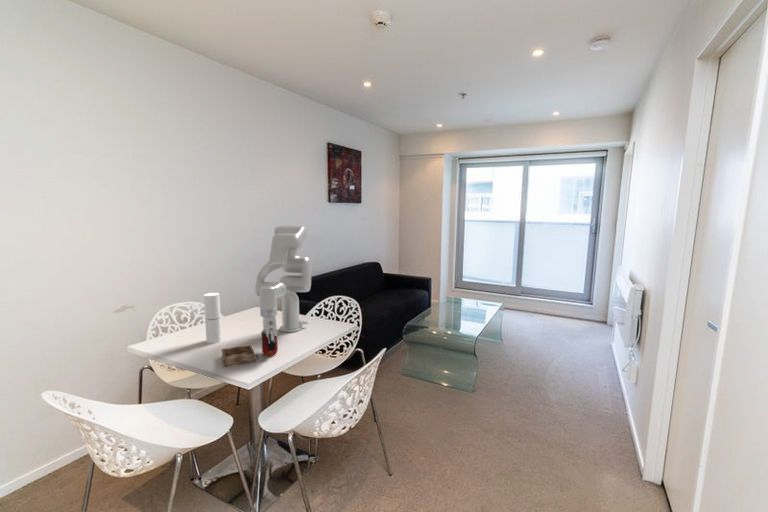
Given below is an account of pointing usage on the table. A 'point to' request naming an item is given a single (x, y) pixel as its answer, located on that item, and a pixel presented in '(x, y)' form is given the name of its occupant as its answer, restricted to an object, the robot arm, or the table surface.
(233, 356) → the tray
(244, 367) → the table surface
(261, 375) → the table surface
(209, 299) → the cylindrical container
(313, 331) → the table surface
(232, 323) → the table surface
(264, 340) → the soda can
